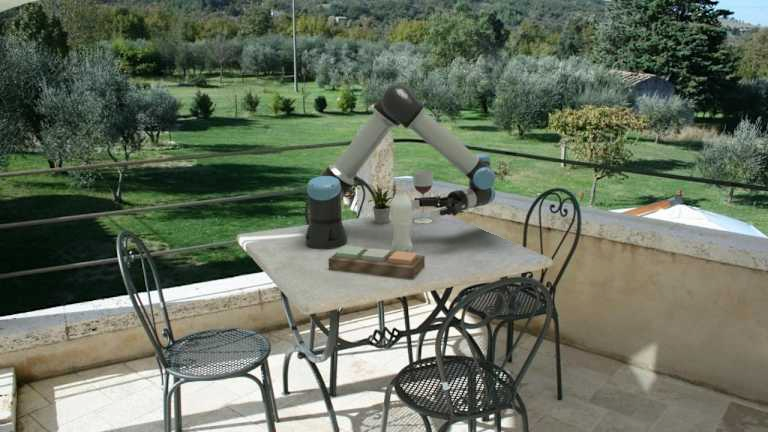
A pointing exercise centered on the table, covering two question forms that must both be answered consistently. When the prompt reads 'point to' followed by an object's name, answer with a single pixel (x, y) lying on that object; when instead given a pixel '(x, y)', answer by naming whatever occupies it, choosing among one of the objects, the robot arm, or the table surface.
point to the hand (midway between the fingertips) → (418, 210)
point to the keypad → (377, 266)
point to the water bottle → (401, 219)
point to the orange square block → (403, 258)
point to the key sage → (350, 252)
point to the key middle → (376, 255)
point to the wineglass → (423, 187)
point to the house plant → (381, 205)
